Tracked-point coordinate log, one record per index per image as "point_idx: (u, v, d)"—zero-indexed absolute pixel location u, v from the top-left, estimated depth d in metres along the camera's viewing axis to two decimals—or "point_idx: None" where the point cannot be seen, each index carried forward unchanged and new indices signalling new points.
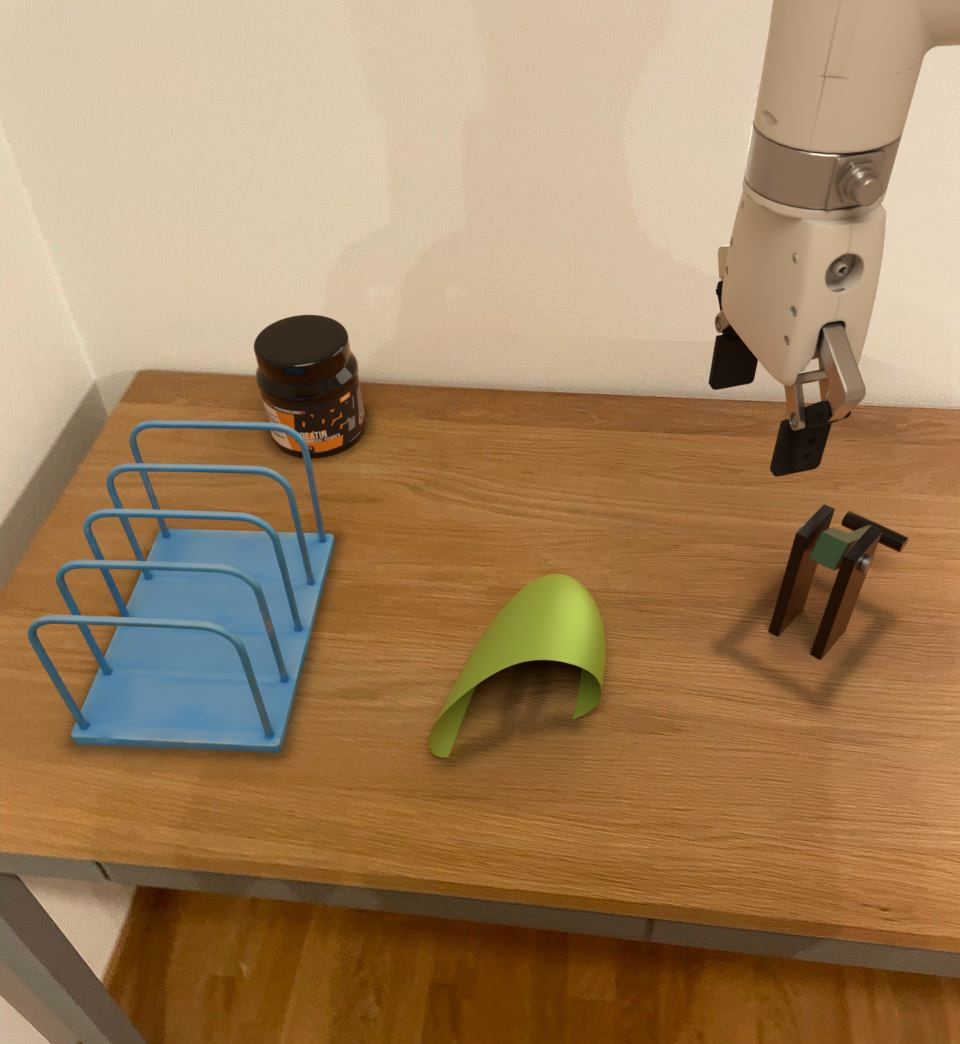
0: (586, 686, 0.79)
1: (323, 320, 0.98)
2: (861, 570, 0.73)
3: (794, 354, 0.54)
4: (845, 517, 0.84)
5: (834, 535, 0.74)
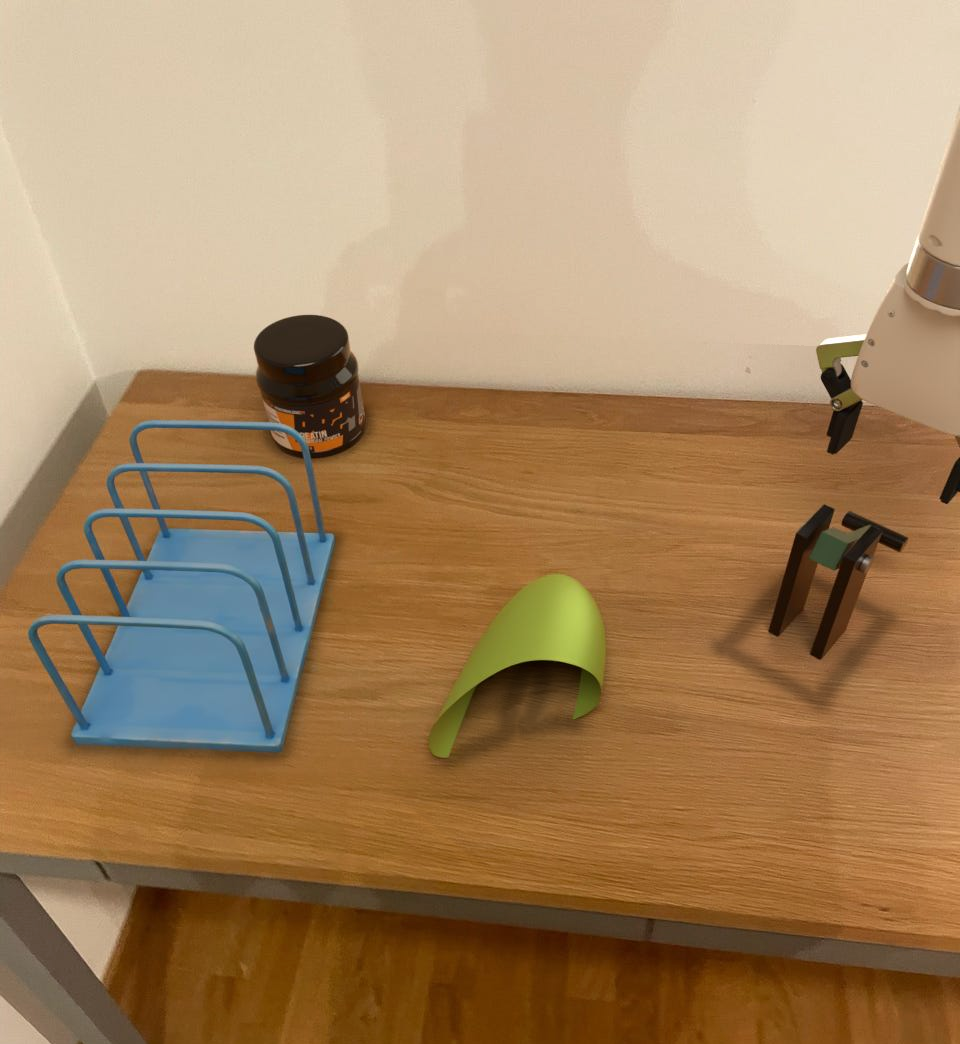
0: (586, 686, 0.79)
1: (323, 320, 0.98)
2: (861, 570, 0.73)
3: None
4: (845, 517, 0.84)
5: (834, 535, 0.74)
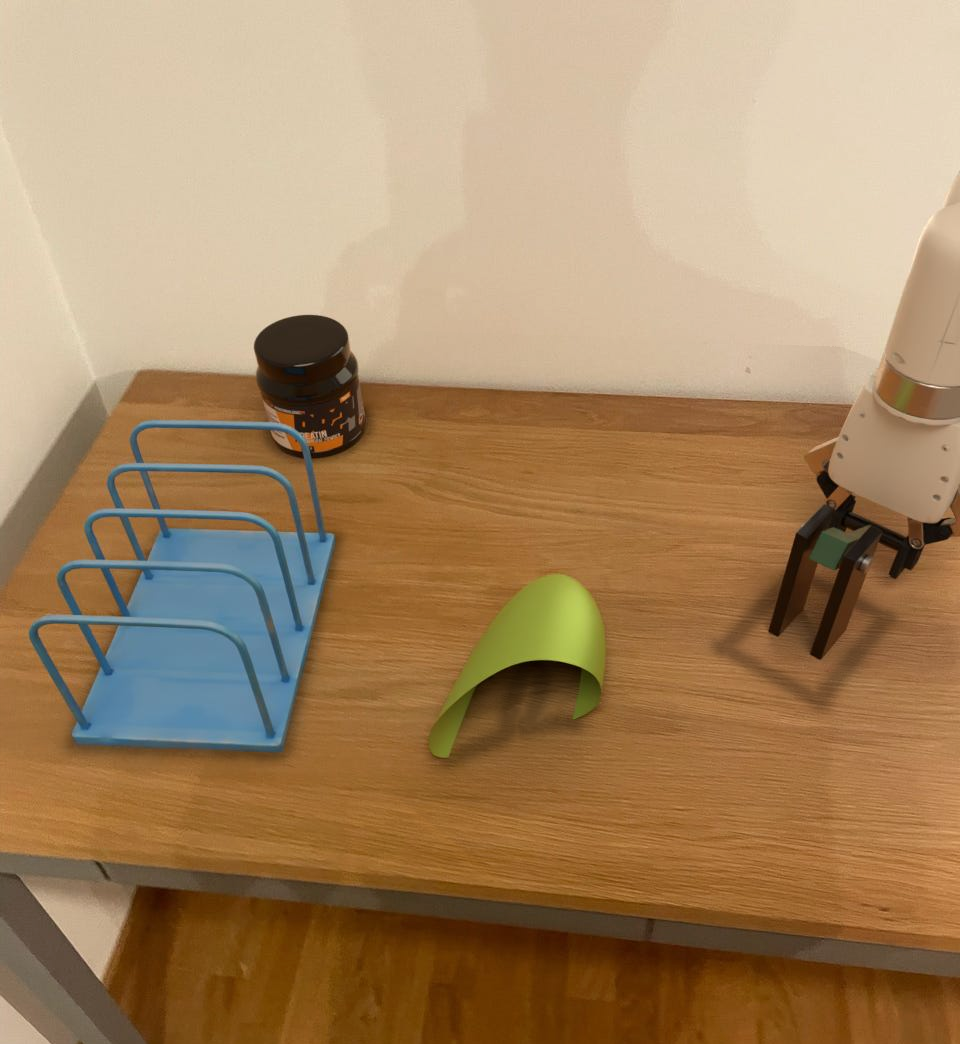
0: (586, 686, 0.79)
1: (323, 320, 0.98)
2: (861, 570, 0.73)
3: (944, 504, 0.75)
4: (845, 517, 0.84)
5: (834, 535, 0.74)
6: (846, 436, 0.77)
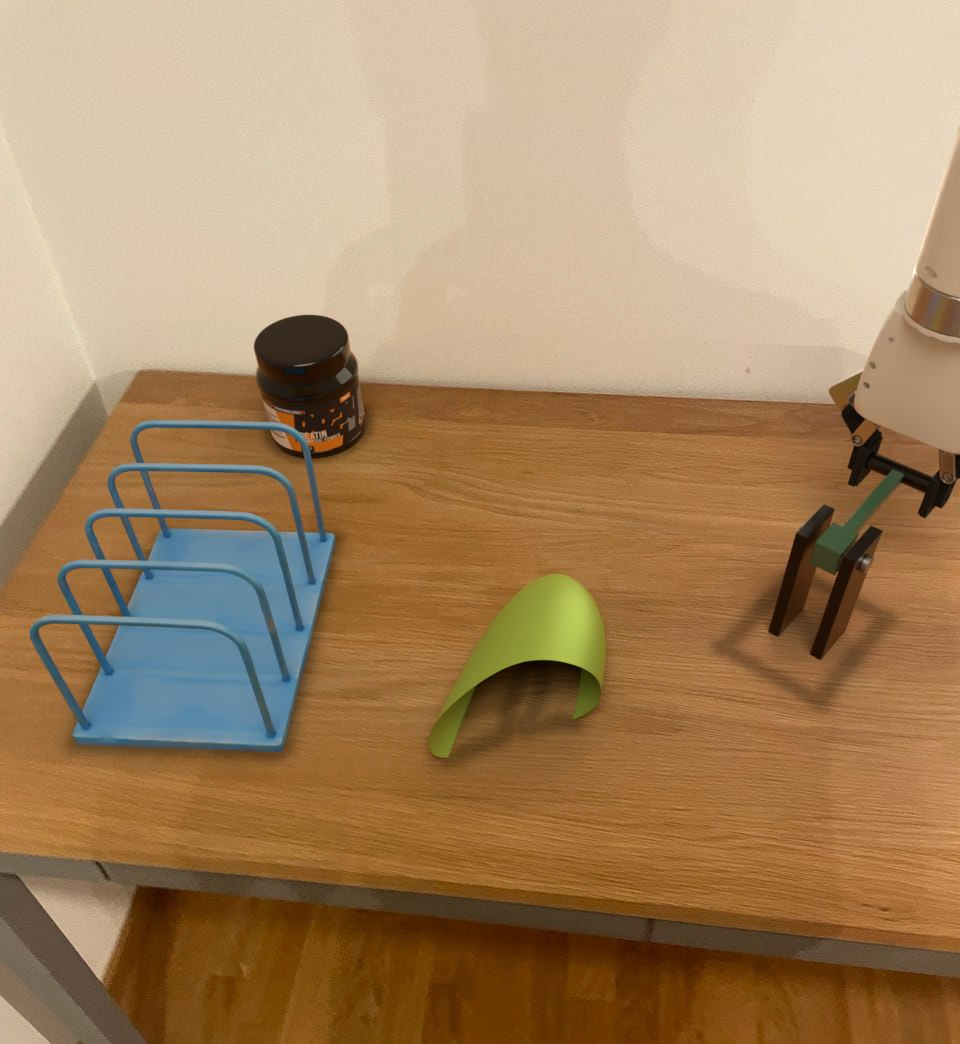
0: (586, 686, 0.79)
1: (323, 320, 0.98)
2: (861, 570, 0.73)
3: None
4: (867, 462, 0.80)
5: (828, 543, 0.74)
6: (873, 363, 0.73)
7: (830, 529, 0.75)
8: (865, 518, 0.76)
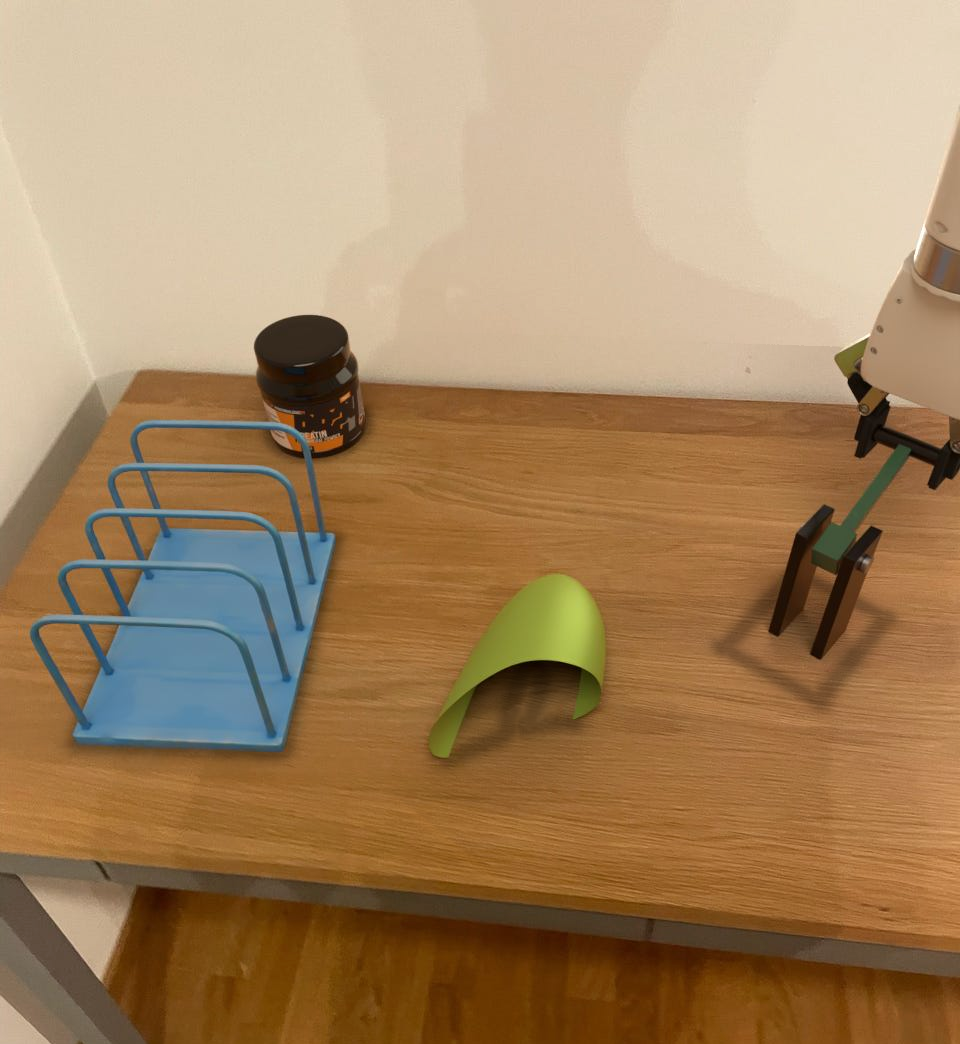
0: (586, 686, 0.79)
1: (323, 320, 0.98)
2: (861, 570, 0.73)
3: None
4: (873, 437, 0.78)
5: (825, 548, 0.74)
6: (881, 327, 0.70)
7: (828, 531, 0.74)
8: (867, 510, 0.75)
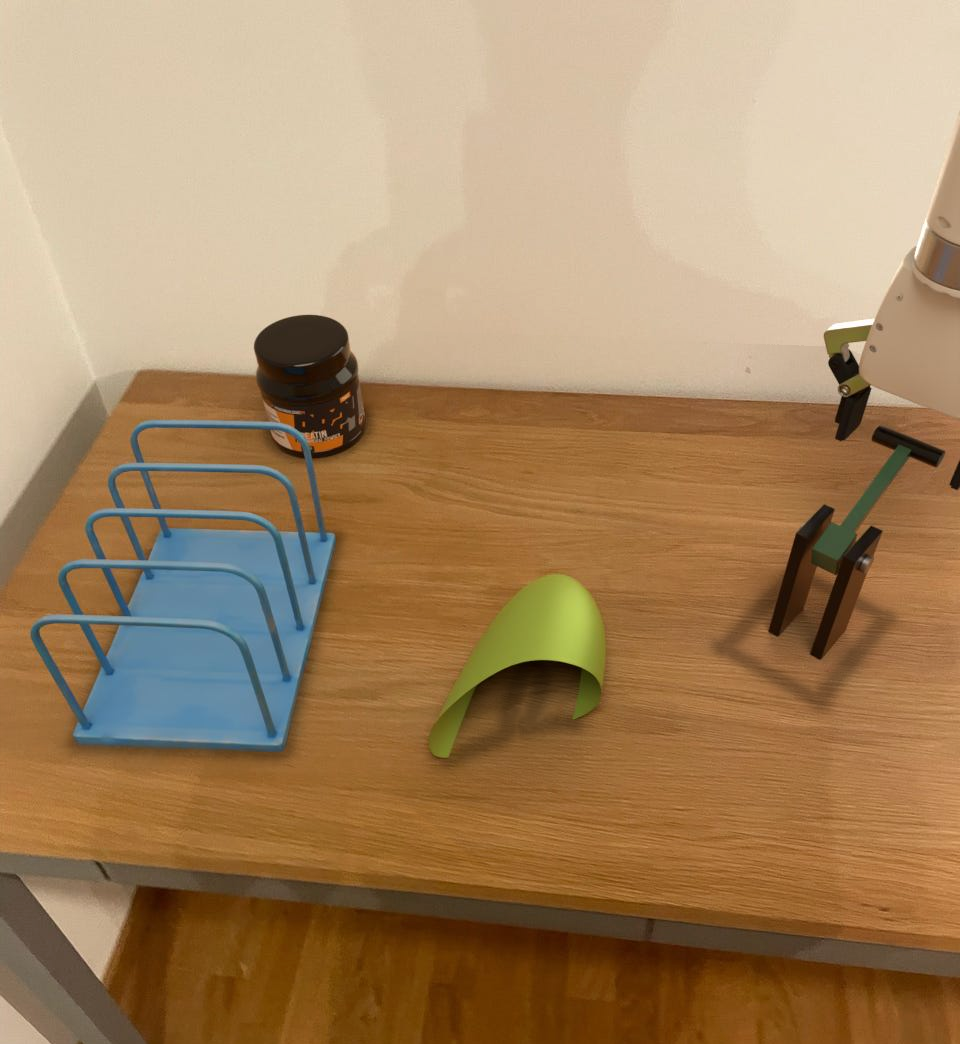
0: (586, 686, 0.79)
1: (323, 320, 0.98)
2: (861, 570, 0.73)
3: None
4: (873, 438, 0.78)
5: (826, 548, 0.74)
6: (880, 325, 0.70)
7: (828, 531, 0.74)
8: (867, 510, 0.75)
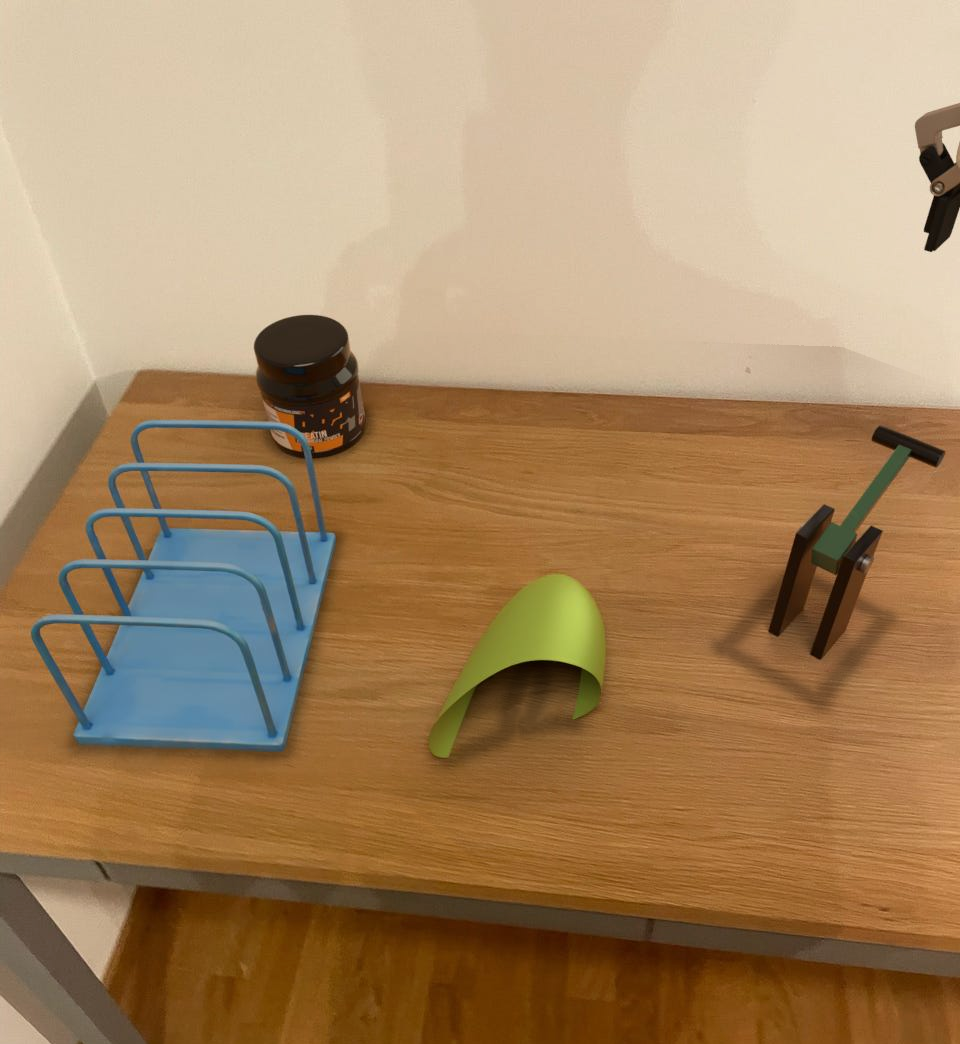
0: (586, 686, 0.79)
1: (323, 320, 0.98)
2: (861, 570, 0.73)
3: None
4: (873, 438, 0.78)
5: (826, 548, 0.74)
6: None
7: (828, 531, 0.74)
8: (867, 510, 0.75)
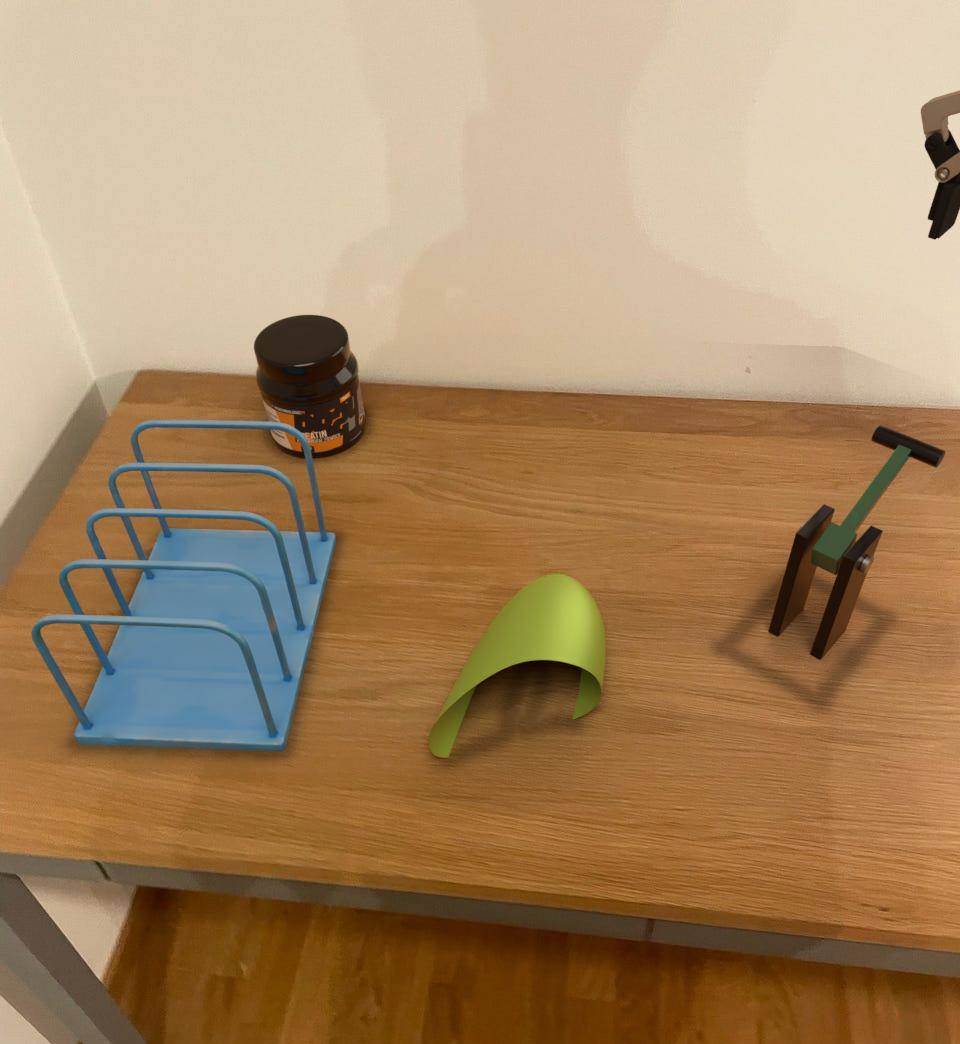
0: (586, 686, 0.79)
1: (323, 320, 0.98)
2: (861, 570, 0.73)
3: None
4: (873, 438, 0.78)
5: (826, 548, 0.74)
6: None
7: (828, 531, 0.74)
8: (867, 510, 0.75)
